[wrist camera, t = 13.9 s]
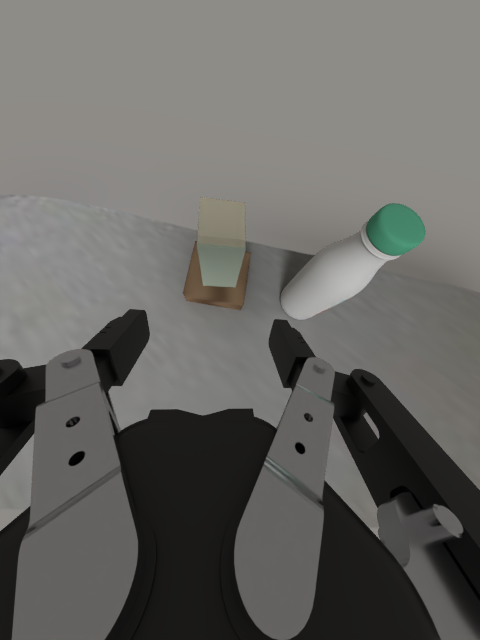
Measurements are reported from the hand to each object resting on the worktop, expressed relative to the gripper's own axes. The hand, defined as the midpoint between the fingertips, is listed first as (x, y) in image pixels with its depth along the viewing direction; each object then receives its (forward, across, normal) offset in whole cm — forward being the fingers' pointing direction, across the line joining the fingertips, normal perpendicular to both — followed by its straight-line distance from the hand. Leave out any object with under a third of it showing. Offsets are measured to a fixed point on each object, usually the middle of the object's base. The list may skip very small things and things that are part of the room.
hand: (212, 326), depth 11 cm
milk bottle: (+21, -16, +7) cm, 27 cm away
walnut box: (+23, 0, +5) cm, 24 cm away
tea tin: (+20, 0, +2) cm, 20 cm away
